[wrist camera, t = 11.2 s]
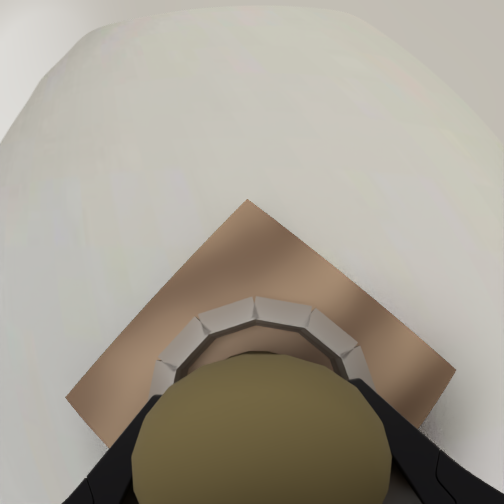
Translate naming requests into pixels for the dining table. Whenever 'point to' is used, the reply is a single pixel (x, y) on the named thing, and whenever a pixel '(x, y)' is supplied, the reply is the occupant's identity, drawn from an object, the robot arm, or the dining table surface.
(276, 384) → the cork
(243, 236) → the socket holder
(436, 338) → the dining table surface
